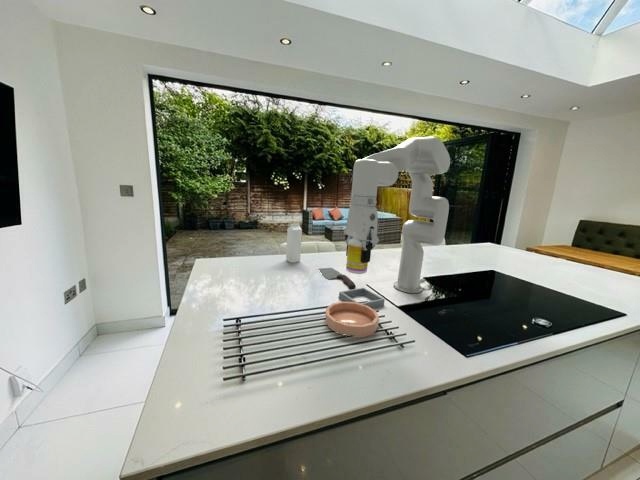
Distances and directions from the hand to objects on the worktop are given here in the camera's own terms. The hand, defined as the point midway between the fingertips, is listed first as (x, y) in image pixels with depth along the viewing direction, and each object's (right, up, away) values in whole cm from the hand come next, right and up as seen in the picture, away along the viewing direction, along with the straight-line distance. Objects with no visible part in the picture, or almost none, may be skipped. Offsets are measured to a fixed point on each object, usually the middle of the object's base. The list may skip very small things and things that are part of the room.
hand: (357, 258), depth 85 cm
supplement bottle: (0, -4, +1) cm, 4 cm away
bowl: (-2, -22, +4) cm, 22 cm away
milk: (-27, -6, +70) cm, 75 cm away
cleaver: (-4, -13, +47) cm, 49 cm away
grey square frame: (+4, -18, +22) cm, 29 cm away
